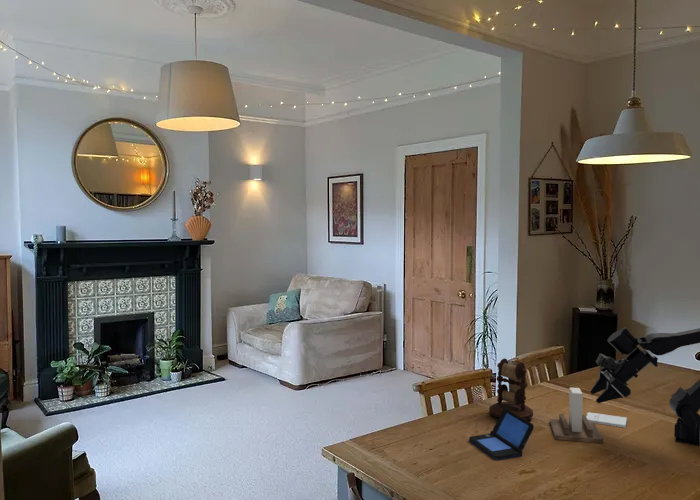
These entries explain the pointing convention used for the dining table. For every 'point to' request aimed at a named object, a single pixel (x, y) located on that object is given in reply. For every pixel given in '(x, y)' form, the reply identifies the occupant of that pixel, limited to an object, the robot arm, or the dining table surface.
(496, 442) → the handheld game console
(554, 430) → the rack
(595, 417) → the external hard drive
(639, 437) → the dining table surface
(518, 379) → the wooden spool holder
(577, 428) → the cream rectangular block
